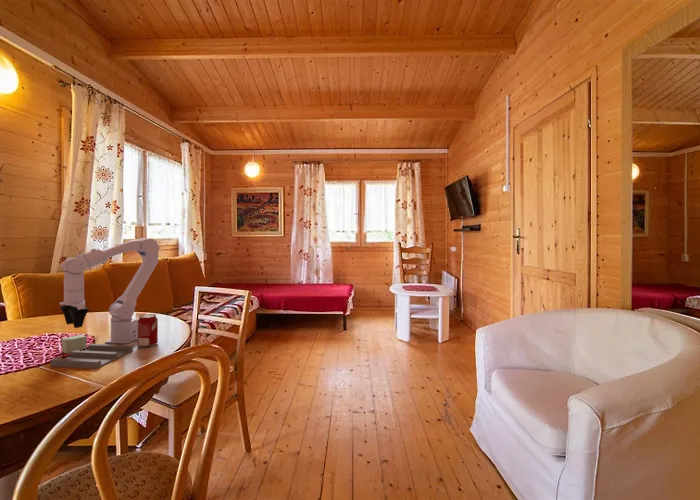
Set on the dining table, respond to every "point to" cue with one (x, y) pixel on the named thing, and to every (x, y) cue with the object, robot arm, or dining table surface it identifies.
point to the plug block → (73, 343)
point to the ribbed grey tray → (93, 356)
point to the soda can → (147, 330)
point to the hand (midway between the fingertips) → (74, 325)
